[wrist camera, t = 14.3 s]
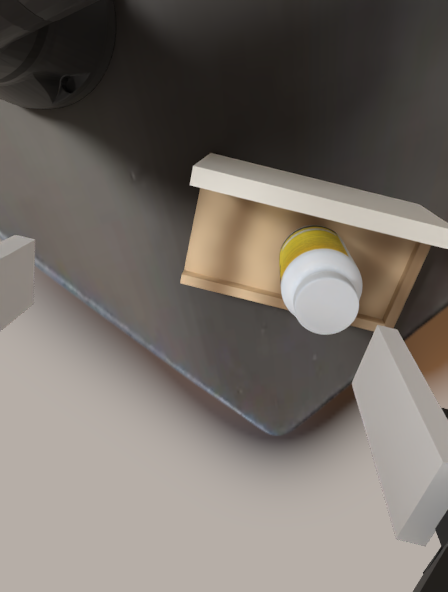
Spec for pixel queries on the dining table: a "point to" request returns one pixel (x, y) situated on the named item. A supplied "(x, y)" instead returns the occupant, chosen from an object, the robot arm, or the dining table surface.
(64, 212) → the dining table surface
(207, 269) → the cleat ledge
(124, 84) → the dining table surface
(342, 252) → the pill bottle
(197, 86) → the dining table surface
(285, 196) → the wall board
